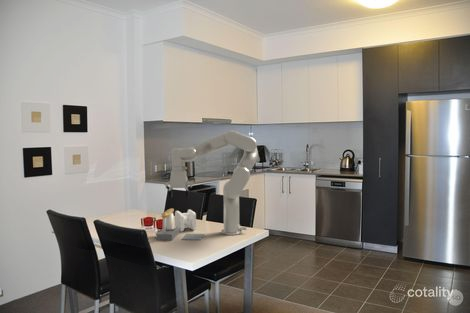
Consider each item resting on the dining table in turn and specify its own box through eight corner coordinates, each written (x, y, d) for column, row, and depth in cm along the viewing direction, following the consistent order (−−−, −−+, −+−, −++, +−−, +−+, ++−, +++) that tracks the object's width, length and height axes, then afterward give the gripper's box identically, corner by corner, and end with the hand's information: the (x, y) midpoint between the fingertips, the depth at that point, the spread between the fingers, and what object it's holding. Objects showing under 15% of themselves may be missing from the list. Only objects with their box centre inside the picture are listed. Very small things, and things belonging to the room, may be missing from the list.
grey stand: (178, 233, 230) (178, 212, 229) (171, 240, 214) (171, 217, 213) (164, 233, 231) (164, 212, 230) (156, 240, 215) (155, 217, 214)
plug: (176, 234, 228) (175, 212, 228) (173, 237, 222) (173, 215, 221) (165, 234, 229) (165, 212, 228) (162, 236, 223) (162, 214, 222)
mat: (204, 234, 226) (204, 233, 226) (200, 240, 214) (200, 239, 214) (186, 234, 227) (186, 233, 227) (181, 239, 215) (181, 238, 215)
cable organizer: (196, 231, 235) (196, 213, 234) (180, 233, 231) (179, 214, 230) (190, 226, 249) (189, 208, 248) (174, 228, 245) (173, 210, 244)
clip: (174, 211, 231) (174, 208, 231) (165, 217, 213) (165, 214, 213) (169, 211, 231) (169, 208, 231) (160, 217, 213) (160, 214, 213)
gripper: (194, 168, 230) (194, 196, 231) (166, 168, 232) (166, 196, 233) (191, 169, 223) (191, 198, 223) (162, 169, 225) (163, 198, 225)
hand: (179, 197), depth 228 cm, fingers open, 9 cm apart
